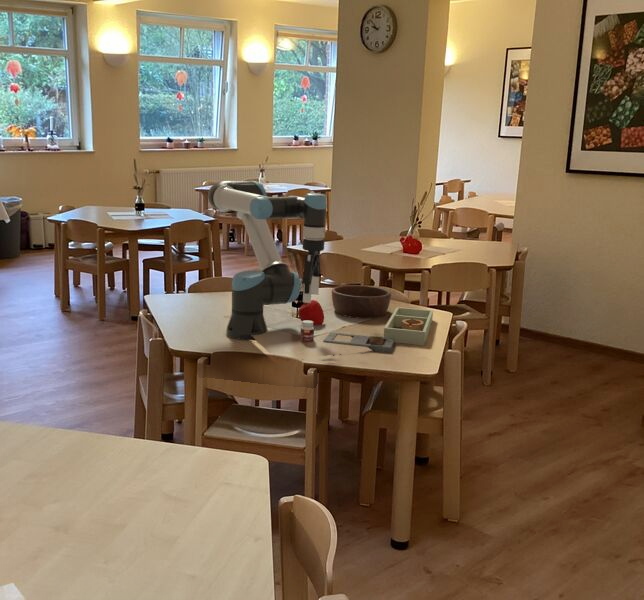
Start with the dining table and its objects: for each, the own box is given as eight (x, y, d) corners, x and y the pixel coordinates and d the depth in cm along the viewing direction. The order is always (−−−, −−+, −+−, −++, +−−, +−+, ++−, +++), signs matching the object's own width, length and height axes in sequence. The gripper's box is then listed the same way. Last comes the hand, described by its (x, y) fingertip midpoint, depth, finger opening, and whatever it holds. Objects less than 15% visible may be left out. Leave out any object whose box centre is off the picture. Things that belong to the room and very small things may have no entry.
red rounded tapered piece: (307, 329, 295) (293, 306, 293) (328, 316, 295) (313, 293, 293) (308, 334, 286) (293, 311, 284) (330, 321, 285) (315, 297, 283)
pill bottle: (303, 346, 264) (304, 323, 262) (298, 343, 269) (299, 320, 267) (315, 345, 266) (316, 322, 264) (310, 342, 270) (311, 319, 269)
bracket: (421, 342, 287) (422, 325, 285) (399, 340, 289) (400, 323, 287) (426, 330, 304) (427, 313, 302) (405, 328, 306) (406, 312, 304)
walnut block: (369, 348, 266) (370, 336, 265) (369, 345, 270) (370, 332, 270) (382, 349, 266) (383, 336, 265) (381, 345, 270) (382, 333, 269)
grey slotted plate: (323, 345, 266) (323, 340, 266) (330, 337, 278) (330, 332, 277) (390, 352, 261) (390, 347, 261) (394, 344, 273) (395, 338, 272)
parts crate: (383, 341, 276) (384, 328, 275) (395, 318, 311) (396, 307, 310) (424, 345, 273) (425, 332, 272) (432, 322, 308) (433, 310, 307)
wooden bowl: (401, 318, 314) (403, 294, 312) (354, 324, 300) (355, 299, 298) (365, 305, 334) (366, 283, 332) (319, 311, 320) (320, 287, 318)
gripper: (317, 244, 247) (314, 306, 252) (330, 234, 271) (327, 292, 276) (295, 242, 249) (292, 304, 253) (310, 233, 272) (307, 290, 277)
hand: (310, 298), depth 265 cm, fingers open, 13 cm apart
